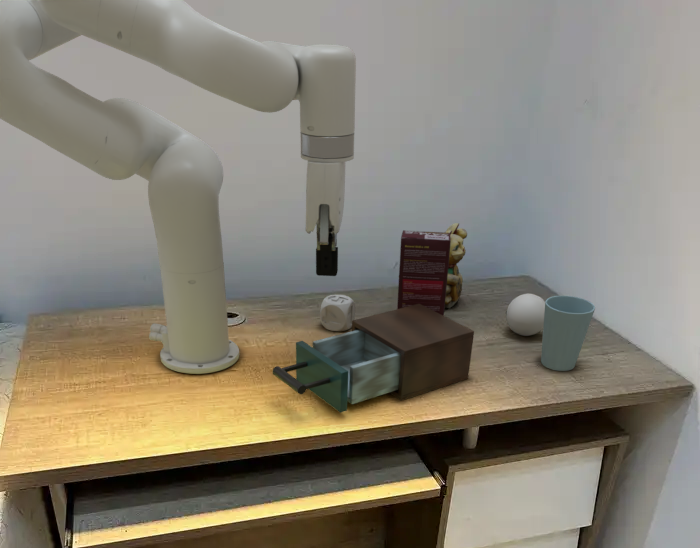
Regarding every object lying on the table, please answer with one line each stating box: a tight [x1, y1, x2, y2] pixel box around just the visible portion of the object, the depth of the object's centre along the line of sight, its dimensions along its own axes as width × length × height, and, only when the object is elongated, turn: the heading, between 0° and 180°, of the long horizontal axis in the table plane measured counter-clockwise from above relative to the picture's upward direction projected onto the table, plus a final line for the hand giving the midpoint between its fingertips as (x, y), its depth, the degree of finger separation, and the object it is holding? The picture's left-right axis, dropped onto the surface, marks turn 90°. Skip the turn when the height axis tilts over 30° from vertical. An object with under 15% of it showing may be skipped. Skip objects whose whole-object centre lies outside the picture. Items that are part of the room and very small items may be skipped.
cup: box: [540, 295, 596, 372], centre depth 119 cm, size 8×8×10 cm
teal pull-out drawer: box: [272, 329, 401, 414], centre depth 108 cm, size 18×12×6 cm, turn 125°
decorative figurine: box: [443, 222, 468, 309], centre depth 139 cm, size 10×8×15 cm
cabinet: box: [351, 304, 475, 401], centre depth 115 cm, size 14×13×8 cm
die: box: [319, 294, 357, 332], centre depth 131 cm, size 5×5×5 cm
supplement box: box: [396, 229, 451, 316], centre depth 131 cm, size 9×5×16 cm, turn 84°
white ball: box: [501, 293, 545, 337], centre depth 131 cm, size 10×7×7 cm
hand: (326, 273), depth 113 cm, fingers closed
